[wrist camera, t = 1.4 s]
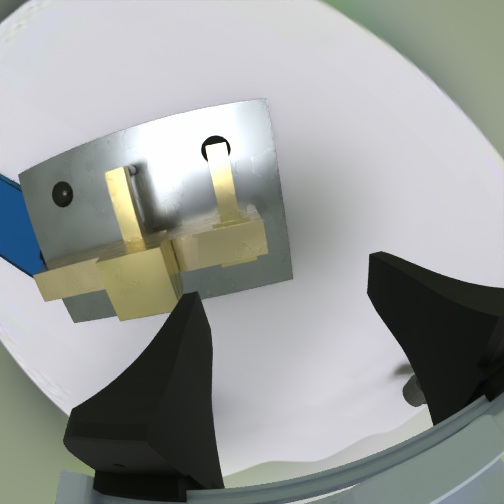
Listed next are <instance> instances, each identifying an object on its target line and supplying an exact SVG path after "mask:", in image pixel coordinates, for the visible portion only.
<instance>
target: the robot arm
mask: <svg viewBox="0 0 504 504" xmlns="http://www.w3.org/2000/svg"><path fill="white" fill-rule="evenodd" d="M367 294H368V296H369V298H370V300H371V302H372V304H373V306H374V308H375V310H376V311H377V313H378V314H379V316H380V317H381V319H382V320H383V321H384V323H385V324H386V326H387V327H388V329H389V330H390V331H391V333H392V334H393V336H394V337H395V338H396V340H397V341H398V343H399V344H400V346H401V347H402V349H403V351H404V352H405V354H406V356H407V358H408V360H409V362H410V364H411V366H412V368H413V370H414V372H415V374H416V377H417V379H418V381H419V384H420V386H421V388H422V391H423V394H424V397H425V399H426V402H427V405H428V408H429V412H430V415H431V419H432V422H433V427H432V428H430V429H428V430H426V431H424V432H422V433H420V434H418V435H416V436H414V437H412V438H410V439H408V440H406V441H404V442H402V443H399V444H397V445H395V446H393V447H390V448H388V449H386V450H383V451H381V452H378V453H376V454H373V455H371V456H368V457H366V458H363V459H360V460H357V461H354V462H351V463H348V464H345V465H342V466H339V467H336V468H332V469H329V470H325V471H322V472H318V473H315V474H311V475H307V476H302V477H298V478H293V479H289V480H284V481H279V482H273V483H267V484H261V485H254V486H246V487H237V488H228V489H225V486H224V483H223V478H222V473H221V468H220V463H219V457H218V451H217V445H216V438H215V430H214V422H213V412H212V396H211V394H212V360H213V347H212V336H211V328H210V325H209V323H208V320H207V317H206V314H205V311H204V308H203V305H202V302H201V299H200V296H199V293H198V291H196V292H191V293H185V294H183V295H182V297H181V298H180V300H179V301H178V303H177V304H176V306H175V308H174V309H173V311H172V312H171V314H170V316H169V317H168V319H167V320H166V322H165V323H164V325H163V326H162V328H161V329H160V330H159V332H158V333H157V335H156V336H155V337H154V339H153V340H152V341H151V343H150V344H149V345H148V346H147V348H146V349H145V350H144V351H143V352H142V353H141V355H140V356H139V357H138V358H137V359H136V360H135V361H134V362H133V363H132V364H131V365H130V366H129V367H128V368H127V369H126V370H125V371H124V372H123V373H122V374H120V375H119V376H118V377H117V378H116V379H115V380H114V381H112V382H111V383H110V384H109V385H108V386H106V387H105V388H104V389H102V390H101V391H100V392H98V393H97V394H95V395H94V396H92V397H91V398H89V399H88V400H86V401H85V402H83V403H81V404H80V405H78V406H77V407H75V408H73V409H72V411H71V414H70V417H69V421H68V424H67V428H66V431H65V435H64V439H63V442H64V445H65V447H66V448H67V449H68V451H69V452H71V453H72V454H73V455H74V456H75V457H77V458H78V459H80V460H81V461H82V462H84V463H85V464H87V465H88V466H90V467H91V468H93V469H94V470H95V477H92V476H89V475H86V474H82V473H77V472H72V471H68V470H64V469H63V470H61V472H60V477H59V482H58V488H57V494H56V501H55V504H284V503H289V502H294V501H299V500H303V499H308V498H312V497H316V496H319V495H323V494H327V493H331V492H334V491H337V490H340V489H343V488H347V487H350V486H353V485H356V484H358V485H356V486H354V487H352V488H351V489H348V490H345V491H342V492H340V493H337V494H334V495H331V496H328V497H325V498H322V499H319V500H316V501H312V502H309V503H306V504H504V463H503V461H502V459H501V457H502V456H503V455H504V288H497V287H489V286H483V285H478V284H473V283H468V282H464V281H460V280H457V279H454V278H450V277H447V276H444V275H441V274H439V273H436V272H433V271H431V270H428V269H425V268H423V267H421V266H418V265H416V264H413V263H411V262H409V261H406V260H404V259H402V258H399V257H397V256H394V255H392V254H389V253H386V252H382V251H380V252H376V253H372V254H369V273H368V288H367ZM361 482H362V483H361ZM359 483H360V484H359Z"/></svg>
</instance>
